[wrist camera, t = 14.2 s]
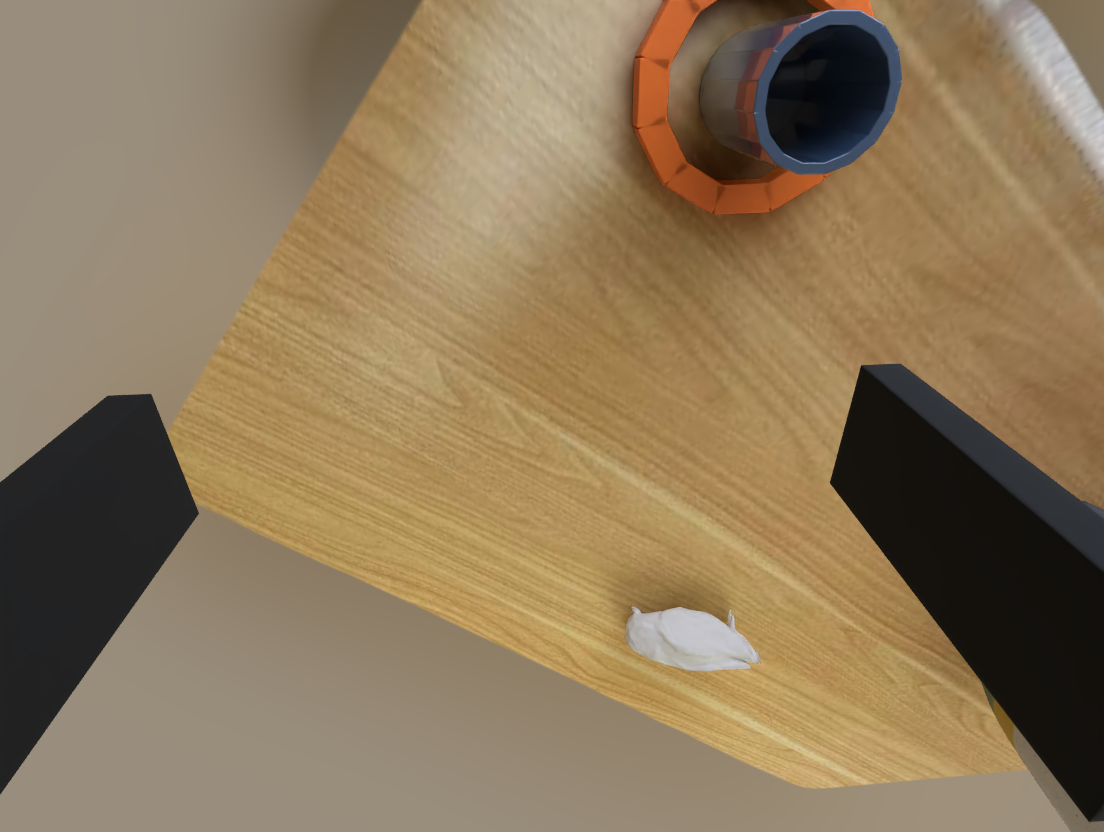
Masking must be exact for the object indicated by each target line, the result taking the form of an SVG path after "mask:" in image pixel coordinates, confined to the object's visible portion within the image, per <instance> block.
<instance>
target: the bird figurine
mask: <svg viewBox="0 0 1104 832" xmlns="http://www.w3.org/2000/svg"><path fill="white" fill-rule="evenodd" d="M631 609H632V611H633V612H634V614H633V615H631V616H629V618H628V620H627V624H626V627H625V640H626V642H627V644H628V645H629V646H630V648H631V649H632V650H634V651H635V652H637V653H639V654H641V655H644V656H645V657H646V658H648V659H650V660H652V661H657V662H659V663H662V664H666V665H668V666H674V667H679V668H682V669H685V670H690V671H715V670H725V669H749V668H751V667H750V666H749V665H747V664H746V662H752V663H757V664H758V663H761V662H760V657H759V654H758V653H757V651H756V650H755V651H754V650H753V648H752V646H751V645H750V643H749V642H748V641H747V639H746V638H745V637H744V636H743V635H741V634H740V633H738V632H737V631H736V630H735V626H734V625H735V624H734V622H735V621H734V615H731V610H732V608H731V610H730V611H729V613H728V621H727V625H726V624H724V623H723V622H722V621H720V620H719V619H717V618H716V617H714V616H713V615H711V614H709V613H706V612H701V611H695V610H689V609H686V608H683V607H676V608H672V609H667V610H665V611H662V612H661V611H657V612H653V613H643V614H642V613H641V612H640V610H639V609H638V608H636V607H633V606H631ZM749 650H750V651H751V652H750V651H749Z"/></svg>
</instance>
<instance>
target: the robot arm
mask: <svg viewBox="0 0 1104 832" xmlns="http://www.w3.org/2000/svg"><path fill="white" fill-rule="evenodd" d="M830 484H831V485H832V486H833V488H834V489H835V490H836V492H837V493H838V494H839V496H840V497H841V498H842V500H843V501H844V502H845V503H846V505H847V506H848V507H849V509H850V510H851V511H852V513H853V514H854V515H855V517H856V518H857V519H858V520H859V522H860V523H861V524H862V526H863V527H864V528H865V530H866V531H867V532H868V534H869V535H870V536H871V538H872V539H873V540H874V541H875V543H876V544H877V545H878V547H879V548H880V549H881V551H882V552H883V553H884V555H885V556H886V557H887V558H888V560H889V561H890V562H891V564H892V565H893V566H894V568H895V569H896V570H897V572H898V573H899V574H900V575H901V577H902V578H903V579H904V581H905V582H906V583H907V585H908V586H909V587H910V589H911V590H912V591H913V593H914V594H915V595H916V596H917V598H918V599H919V600H920V602H921V603H922V604H923V606H924V607H925V608H926V610H927V611H928V612H929V613H930V615H931V616H932V617H933V619H934V620H935V621H936V623H937V624H938V625H939V627H940V628H941V629H942V630H943V632H944V633H945V634H946V636H947V637H948V638H949V640H950V641H951V642H952V644H953V645H954V646H955V647H956V649H957V650H958V651H959V653H960V654H961V655H962V657H963V658H964V659H965V661H966V662H967V663H968V665H969V666H970V667H971V668H972V670H973V671H974V672H975V674H976V675H977V676H978V678H979V679H980V680H981V682H982V683H983V684H984V685H985V687H986V688H987V689H988V691H989V692H990V693H991V695H992V696H993V697H994V699H995V700H996V701H997V702H998V704H999V705H1000V706H1001V708H1002V709H1003V710H1004V712H1005V713H1006V714H1007V716H1008V717H1009V718H1010V720H1011V721H1012V722H1013V723H1014V725H1015V726H1016V727H1017V729H1018V730H1019V731H1020V733H1021V734H1022V735H1023V737H1024V738H1025V739H1026V740H1027V742H1028V743H1029V744H1030V746H1031V747H1032V748H1033V750H1034V751H1035V752H1036V754H1037V755H1038V756H1039V757H1040V759H1041V760H1042V761H1043V763H1044V764H1045V765H1046V767H1047V768H1048V769H1049V771H1050V772H1051V773H1052V774H1053V776H1054V777H1055V778H1056V780H1057V781H1058V782H1059V784H1060V785H1061V786H1062V788H1063V789H1064V790H1065V792H1066V793H1067V794H1068V795H1069V797H1070V798H1071V799H1072V801H1073V802H1074V803H1075V805H1076V806H1077V807H1078V809H1079V810H1080V811H1081V812H1082V814H1083V815H1084V816H1085V818H1086V819H1087V820H1088V822H1099V821H1104V510H1102V509H1100V508H1098V507H1096V506H1094V505H1092V504H1090V503H1088V502H1086V501H1080V500H1079V499H1078V498H1076V497H1075V496H1074V495H1072V494H1071V493H1070V492H1068V491H1067V490H1066V489H1064V488H1063V487H1062V486H1060V485H1059V484H1058V483H1057V482H1055V481H1054V480H1053V479H1051V478H1050V477H1049V476H1047V475H1046V474H1045V473H1043V472H1042V471H1041V470H1039V469H1038V468H1037V467H1036V466H1034V465H1033V464H1032V463H1030V462H1029V461H1028V460H1026V459H1025V458H1024V457H1022V456H1021V455H1020V454H1018V453H1017V452H1016V451H1015V450H1013V449H1012V448H1011V447H1009V446H1008V445H1007V444H1005V443H1004V442H1003V441H1001V440H1000V439H999V438H997V437H996V436H995V435H994V434H992V433H991V432H990V431H988V430H987V429H986V428H984V427H983V426H982V425H980V424H979V423H978V422H976V421H975V420H974V419H973V418H971V417H970V416H969V415H967V414H966V413H965V412H963V411H962V410H961V409H959V408H958V407H957V406H955V405H954V404H953V403H952V402H950V401H949V400H948V399H946V398H945V397H944V396H942V395H941V394H940V393H938V392H937V391H936V390H934V389H933V388H932V387H931V386H929V385H928V384H927V383H925V382H924V381H923V380H921V379H920V378H919V377H917V376H916V375H915V374H913V373H912V372H911V371H910V370H908V369H907V368H906V367H904V366H903V365H902V364H882V365H861V368H860V372H859V376H858V379H857V383H856V387H855V391H854V394H853V398H852V402H851V406H850V409H849V413H848V417H847V421H846V424H845V428H844V432H843V436H842V439H841V443H840V447H839V451H838V454H837V458H836V462H835V466H834V469H833V473H832V477H831V481H830ZM198 514H199V513H198V510H197V507H196V505H195V502H194V500H193V497H192V495H191V492H190V490H189V487H188V485H187V482H186V480H185V477H184V475H183V472H182V470H181V467H180V465H179V462H178V460H177V457H176V455H175V452H174V450H173V447H172V445H171V442H170V440H169V437H168V435H167V432H166V430H165V428H164V426H163V423H162V420H161V417H160V415H159V413H158V410H157V407H156V405H155V402H154V400H153V397H152V395H151V394H142V395H140V394H139V395H117V396H116V395H115V396H107V397H106V398H104V399H103V400H102V401H101V402H99V403H98V404H97V405H96V406H94V407H93V408H92V409H91V410H89V411H88V412H87V413H86V414H84V415H83V416H82V417H81V418H79V419H78V420H77V421H76V422H75V423H73V424H72V425H71V426H70V427H68V428H67V429H66V430H65V431H63V432H62V433H61V434H60V435H58V436H57V437H56V438H55V439H53V440H52V441H51V442H50V443H48V444H47V445H46V446H45V447H43V448H42V449H41V450H40V451H39V452H38V453H36V454H35V455H34V456H33V457H31V458H30V459H29V460H27V461H26V462H25V463H24V464H23V465H21V466H20V467H19V468H17V469H16V470H15V471H14V472H12V473H11V474H10V475H9V476H8V477H6V478H5V479H4V480H3V481H1V482H0V794H1V793H2V791H3V790H4V788H5V787H6V786H7V784H8V783H9V781H10V780H11V779H12V777H13V776H14V774H15V773H16V771H17V770H18V769H19V767H20V766H21V764H22V763H23V761H24V760H25V759H26V757H27V756H28V755H29V753H30V752H31V750H32V749H33V747H34V746H35V745H36V743H37V742H38V740H39V739H40V738H41V736H42V735H43V733H44V732H45V730H46V729H47V728H48V726H49V725H50V723H51V722H52V721H53V719H54V718H55V716H56V715H57V713H58V712H59V711H60V709H61V708H62V706H63V705H64V704H65V702H66V701H67V699H68V698H69V696H70V695H71V694H72V692H73V691H74V689H75V688H76V687H77V685H78V684H79V682H80V681H81V680H82V678H83V677H84V675H85V674H86V672H87V671H88V670H89V668H90V667H91V665H92V664H93V663H94V661H95V660H96V658H97V657H98V655H99V654H100V653H101V651H102V650H103V648H104V647H105V645H106V644H107V643H108V641H109V640H110V638H111V637H112V636H113V634H114V633H115V631H116V630H117V628H118V627H119V625H120V624H121V623H122V622H123V620H124V619H125V617H126V616H127V614H128V613H129V612H130V610H131V609H132V607H133V606H134V604H135V603H136V602H137V600H138V599H139V597H140V596H141V595H142V593H143V592H144V590H145V589H146V588H147V586H148V585H149V583H150V582H151V581H152V579H153V578H154V576H155V575H156V573H157V572H158V571H159V569H160V568H161V566H162V565H163V564H164V562H165V561H166V559H167V558H168V556H169V555H170V554H171V552H172V551H173V549H174V548H175V547H176V545H177V544H178V542H179V541H180V539H181V538H182V537H183V535H184V534H185V532H186V531H187V529H188V528H189V526H190V525H191V524H192V522H193V521H194V520H195V518H196V517H197V515H198Z"/></svg>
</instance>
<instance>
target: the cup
mask: <svg viewBox="0 0 1104 832" xmlns="http://www.w3.org/2000/svg"><path fill="white" fill-rule="evenodd" d="M901 80H902V75H901V65H900V55H899V50H898V47H897V45H896V43H895V42H894V40H893V38H892V37H891V35H890V33H889V31H888V30H887V28H886V26H885V25H883V23H882V22H880V21H878V20H876V19H875V18H873V17H871V16H869V15H868V14H866V13H864V12H863V11H861V10H827V11H821V12H816V13H811V14H806V15H801V16H796V17H791V18H786V19H781V20H776V21H771V22H766V23H761V24H756V25H754V26H752V27H749V28H746V29H744V30H741V31H739V32H738V33H736V34H734V35H733V36H731V37H730V38H729V39H728V40H726V41H725V42H724V43H723V44H722V45H721V46H720V47H719V49H718V50H717V51H716V52H715V54H714V55H713V57H712V58H711V60H710V62H709V64H708V66H707V68H706V70H705V73H704V76H703V79H702V83H701V89H700V108H701V114H702V117H703V120H704V123H705V125H706V127H707V129H708V130H709V132H710V133H711V135H712V136H713V137H714V138H715V139H716V140H717V141H718V142H720V143H721V144H722V145H724V146H726V147H728V148H731V149H733V150H735V151H737V152H739V153H742V154H745V155H747V156H750V157H753V158H755V159H758V160H760V161H763V162H766V163H768V164H771V165H774V166H776V167H779V168H781V169H784V170H787V171H789V172H792V173H795V174H798V175H823V174H827V173H829V172H832V171H834V170H837V169H839V168H841V167H844V166H846V165H849V164H851V163H852V162H854V161H855V160H856V159H857V158H858V157H859V156H861V155H862V154H863V153H864V152H865V151H866V150H867V149H869V148H870V147H871V146H872V145H873V144H874V143H875V141H877V140H878V138H879V136H880V135H881V133H882V132H883V130H884V128H885V127H886V125H887V123H888V122H889V120H890V119H891V117H892V115H893V113H894V111H895V107H896V103H897V99H898V95H899V91H900V87H901V83H902V81H901Z"/></svg>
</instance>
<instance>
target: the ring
mask: <svg viewBox="0 0 1104 832" xmlns="http://www.w3.org/2000/svg"><path fill="white" fill-rule="evenodd" d="M716 1H718V0H664V1H663V3H662V5H661V7H660V9H659V11H658V13H657V15H656V17H655V18H654V20H653V22H652V24H651V26H650V28H649V30H648V32H647V34H646V36H645V38H644V40H643V42H642V43H641V45H640V47H639V49H638V51H637V53H636V57H638V58H636V59H635V60H634V89H633V117H632V125H633V126H635V127H634V128H633V130H634V132H635V134H636V136H637V138H638V140H639V142H640V144H641V146H642V148H643V150H644V152H645V154H646V156H647V158H648V160H649V162H650V164H651V166H652V168H653V170H654V172H655V174H656V176H657V178H658V180H660V181H661V183H662V184H663V185H665V186H666V187H667V188H669V189H671V190H672V191H674V192H676V193H677V194H679V195H681V196H682V197H684V198H686V199H687V200H689V201H691V202H692V203H694V204H696V205H697V206H699V207H701V208H702V209H704V210H706V211H707V212H709V213H713V214H738V213H764V212H769V210H770V211H773V210H774V209H776V208H778V207H780V206H781V205H783V204H785V203H786V202H788V201H790V200H791V199H793V198H795V197H797V196H798V195H800V194H802V193H803V192H805V191H807V190H808V189H810V188H812V187H814V186H815V185H817V184H819V183H820V182H822V181H823V180H824V177H825V178H827V177H828V175H829V174H830V173H831V172H829V173H827V174H823V175H798V174H795V173H792V172H789V171H787V170H784V169H781V168H779V167H777V168H775V169H773V170H772V171H770V172H769V173H767V174H765V175H764V176H762V177H760V178H759V179H736V180H715V179H713V178H712V177H710V176H709V175H707V174H705V173H704V172H702V171H700V170H699V169H697V168H696V167H694V166H692V165H691V164H689V163H688V162H686V159H685V157H684V155H683V153H682V151H681V149H680V146H679V144H678V142H677V140H676V138H675V136H674V133H673V131H672V129H671V127H670V125H669V123H668V121H667V109H668V92H669V76H670V65H671V63H672V61H673V59H674V57H675V56H676V54H677V52H678V50H679V48H680V46H681V45H682V43H683V41H684V39H685V37H686V35H687V34H688V32H689V30H690V28H691V26H692V25H693V23H694V21H695V19H696V17H697V15H698V14H699V13H700V12H702V11H703V10H705V9H706V8H707V7H709V6H710V5H712V4H713V3H715V2H716ZM806 1H807V2H809V3H810V4H811V5H813V6H814V7H815V8H817V9H818V10H819V11H827V10H861V11H863V12H864V13H866V14H868V15H869V16H871V17H873V18H874V16H873V12H872V8H871V5H870V1H869V0H806Z"/></svg>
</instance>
